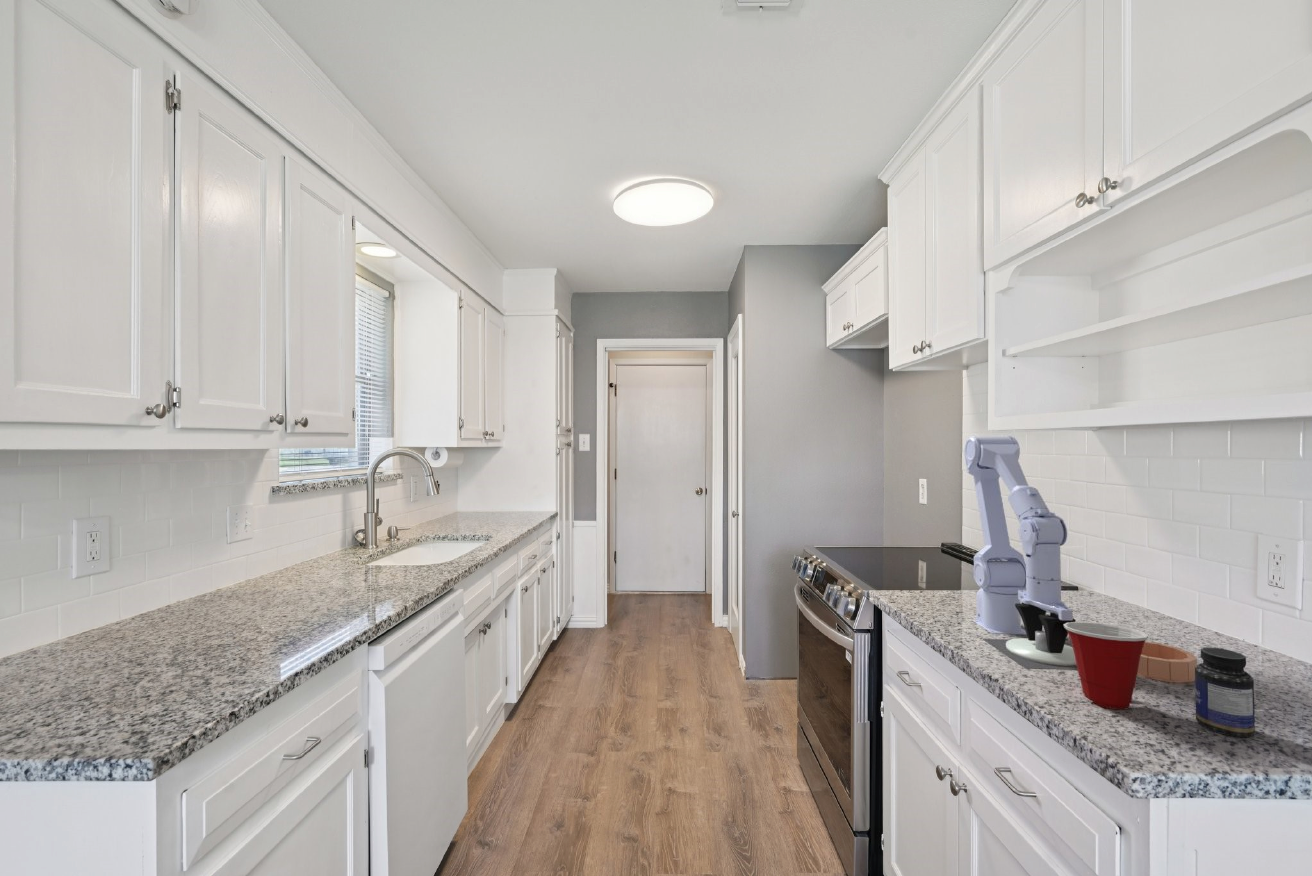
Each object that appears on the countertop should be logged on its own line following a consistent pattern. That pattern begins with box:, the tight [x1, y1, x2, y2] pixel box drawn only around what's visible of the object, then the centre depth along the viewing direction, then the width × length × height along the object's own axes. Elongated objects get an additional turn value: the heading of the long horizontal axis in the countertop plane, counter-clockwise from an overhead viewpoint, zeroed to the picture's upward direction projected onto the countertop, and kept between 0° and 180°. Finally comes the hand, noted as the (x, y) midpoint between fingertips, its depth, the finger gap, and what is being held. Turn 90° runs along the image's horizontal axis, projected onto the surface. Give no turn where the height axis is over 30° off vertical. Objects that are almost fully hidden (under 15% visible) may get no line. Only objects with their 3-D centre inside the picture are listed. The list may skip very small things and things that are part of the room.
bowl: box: [1137, 640, 1198, 683], centre depth 102 cm, size 11×11×4 cm
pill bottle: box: [1194, 646, 1256, 738], centre depth 82 cm, size 6×6×11 cm
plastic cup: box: [1063, 621, 1149, 710], centre depth 91 cm, size 11×11×12 cm
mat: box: [982, 638, 1078, 671], centre depth 111 cm, size 16×16×1 cm
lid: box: [1006, 630, 1077, 666], centre depth 111 cm, size 13×13×4 cm
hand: (1044, 646), depth 111 cm, fingers open, 6 cm apart
